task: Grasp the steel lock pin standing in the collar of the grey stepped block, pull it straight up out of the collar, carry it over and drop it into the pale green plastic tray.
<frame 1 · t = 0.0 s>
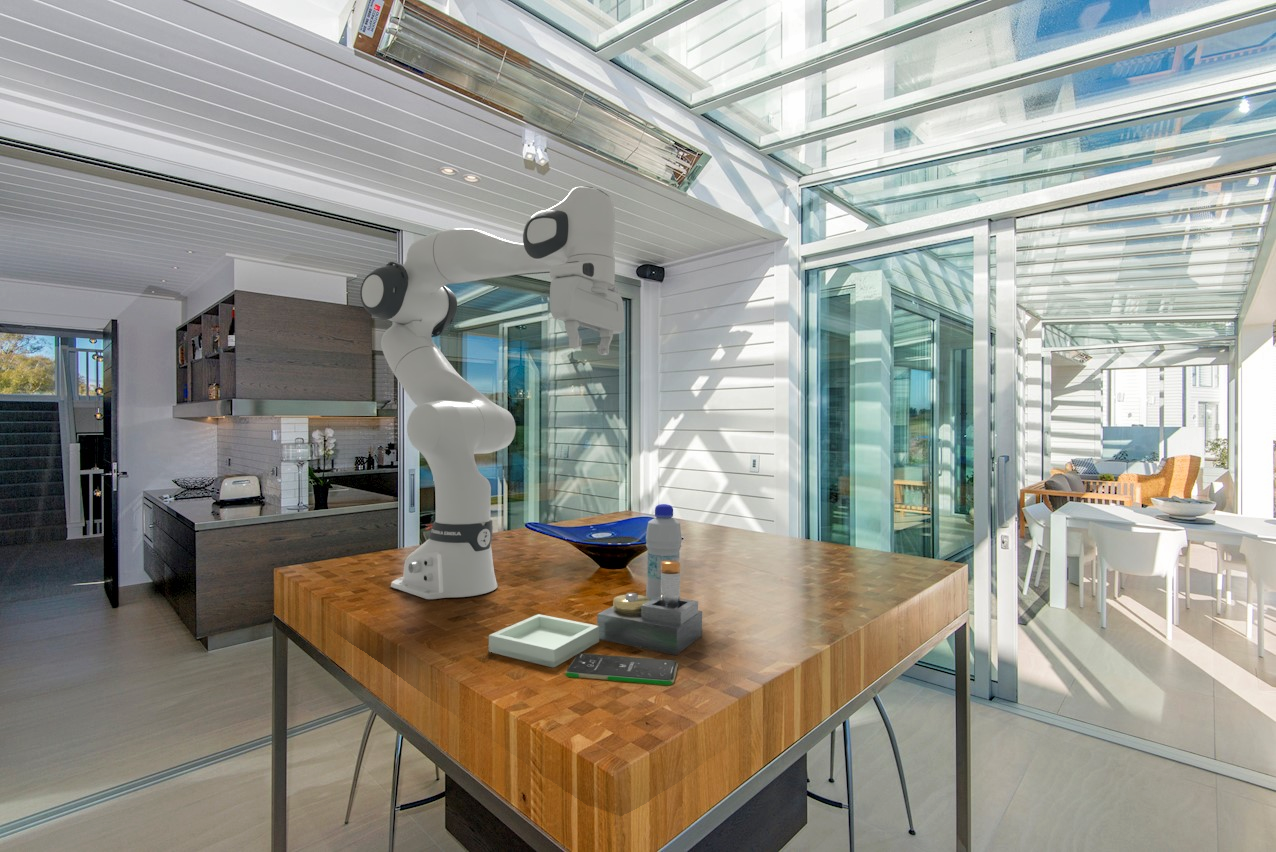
hand: (589, 351, 110), 48 cm above the table, fingers open, 8 cm apart
grey stepped block: (650, 637, 97), on the table
smartphone: (622, 674, 84), on the table
tray: (545, 646, 92), on the table
lock pin: (669, 615, 95), point 4 cm above the table, touching grey stepped block
bottle: (662, 613, 110), on the table
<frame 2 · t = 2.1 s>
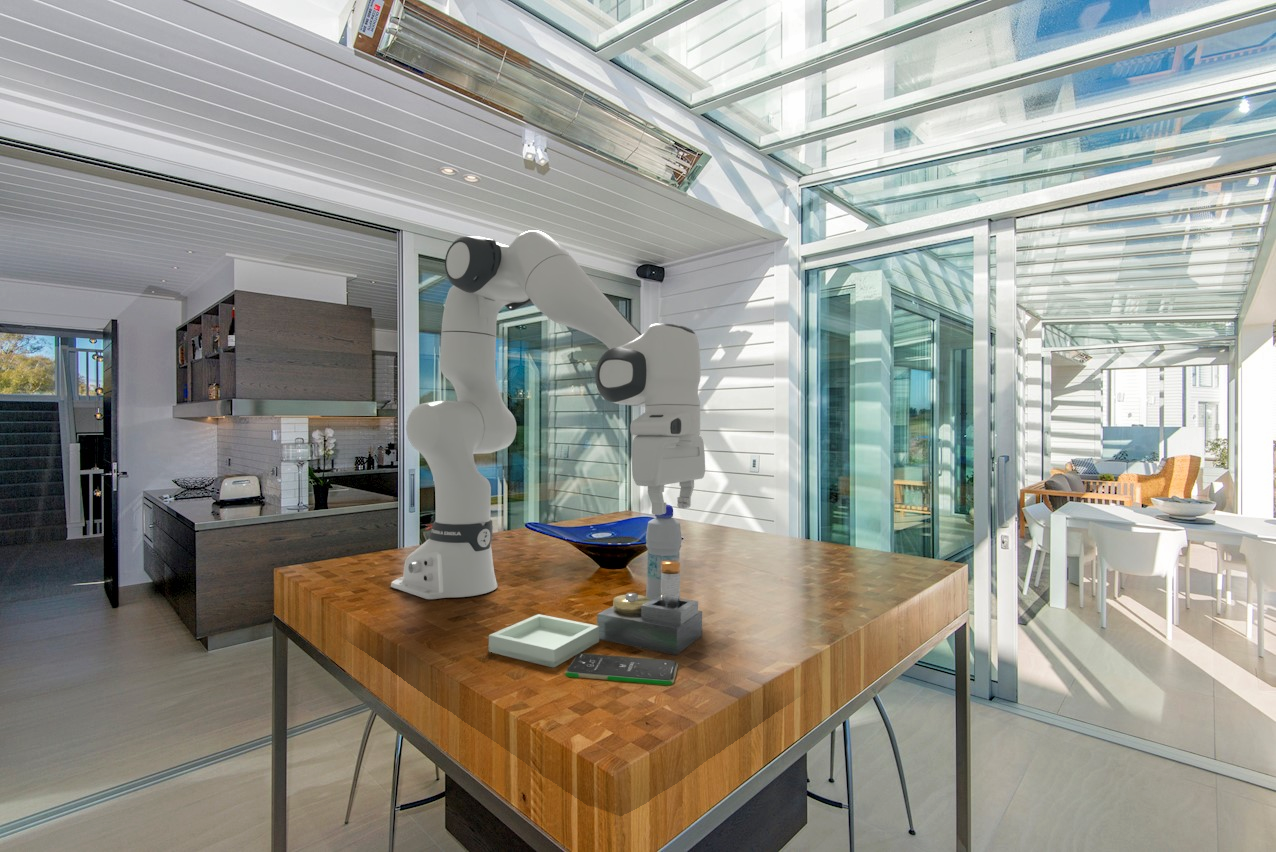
hand: (672, 511, 95), 21 cm above the table, fingers open, 8 cm apart
nothing on the table moved.
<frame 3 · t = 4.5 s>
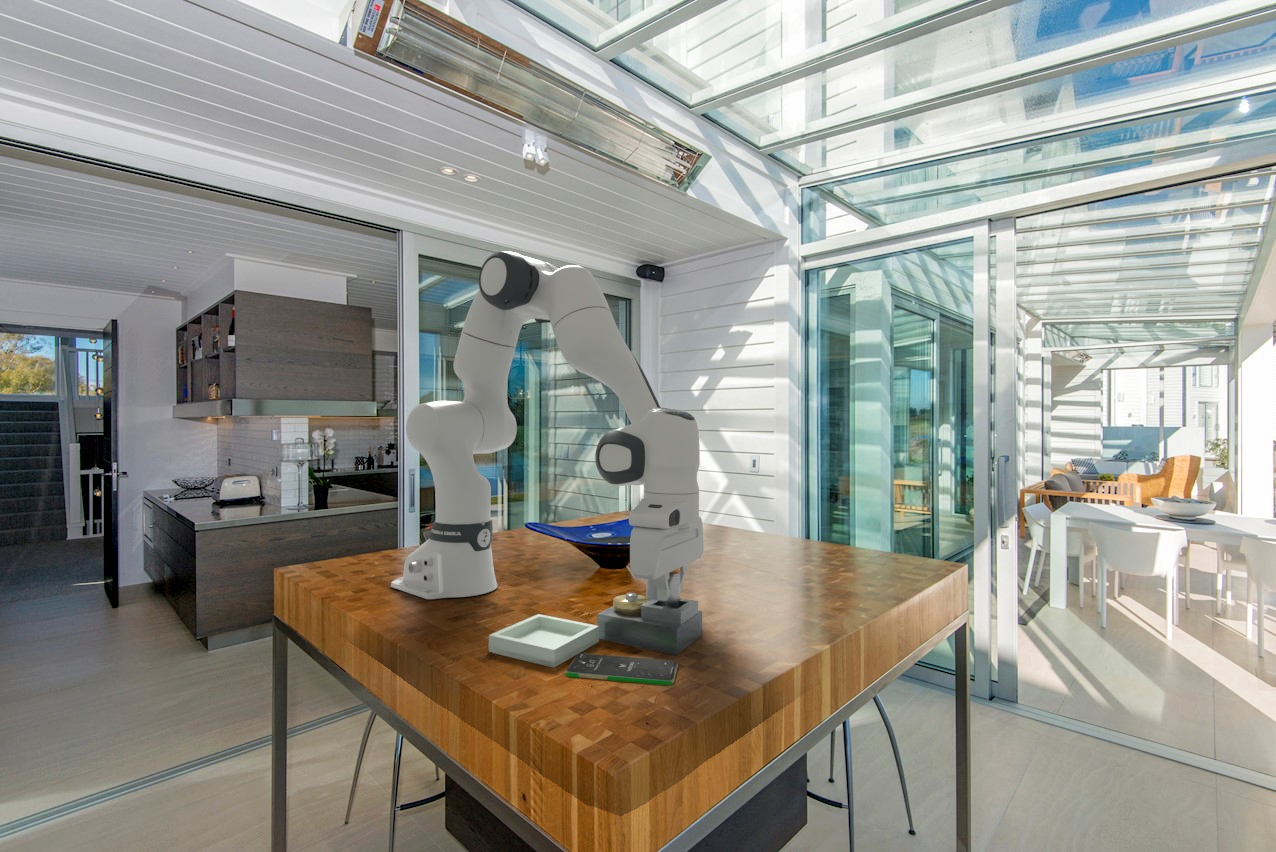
hand: (670, 596, 95), 7 cm above the table, fingers closed on lock pin, 3 cm apart
lock pin: (669, 615, 95), point 4 cm above the table, touching gripper, grey stepped block
everything else where it was.
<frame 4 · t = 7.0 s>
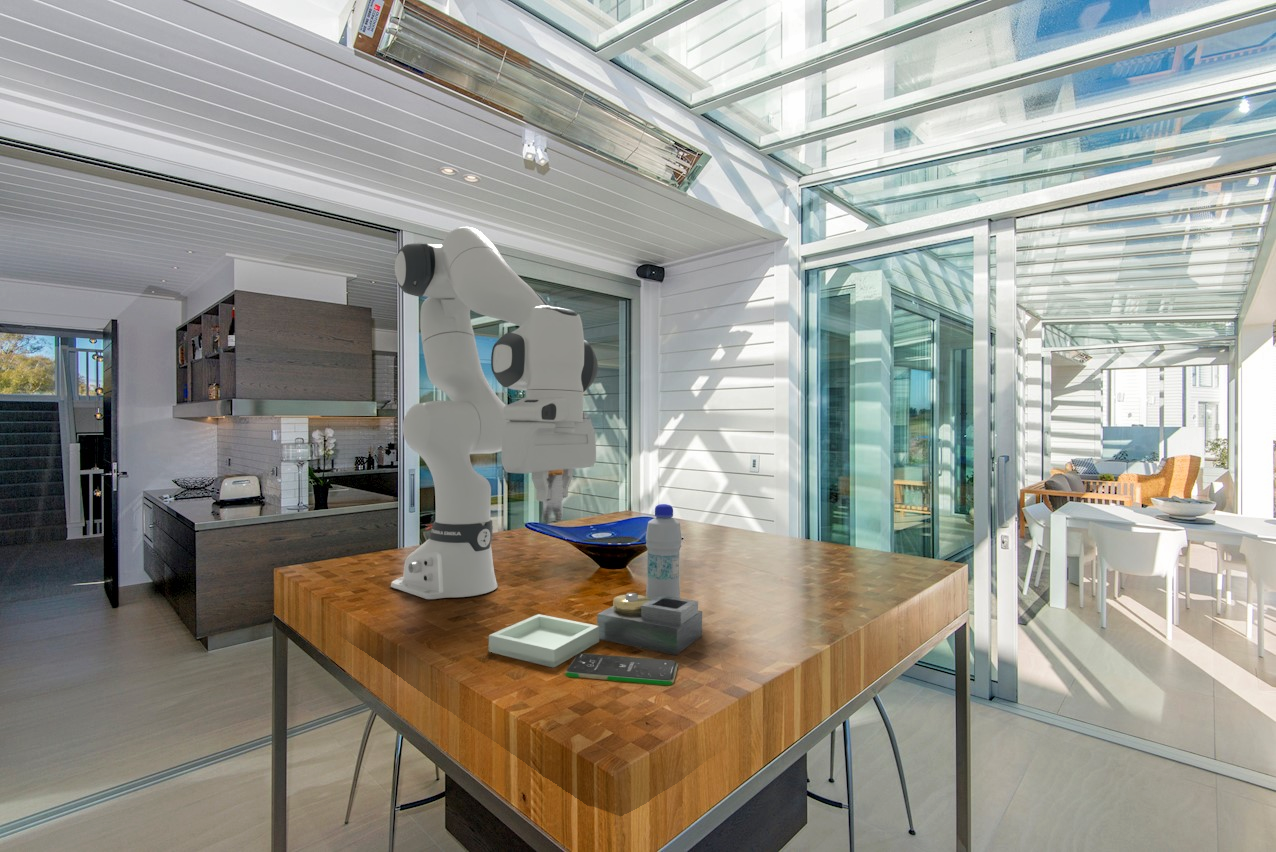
hand: (552, 499, 93), 23 cm above the table, fingers closed on lock pin, 3 cm apart
lock pin: (552, 519, 93), point 20 cm above the table, touching gripper
everything else where it was.
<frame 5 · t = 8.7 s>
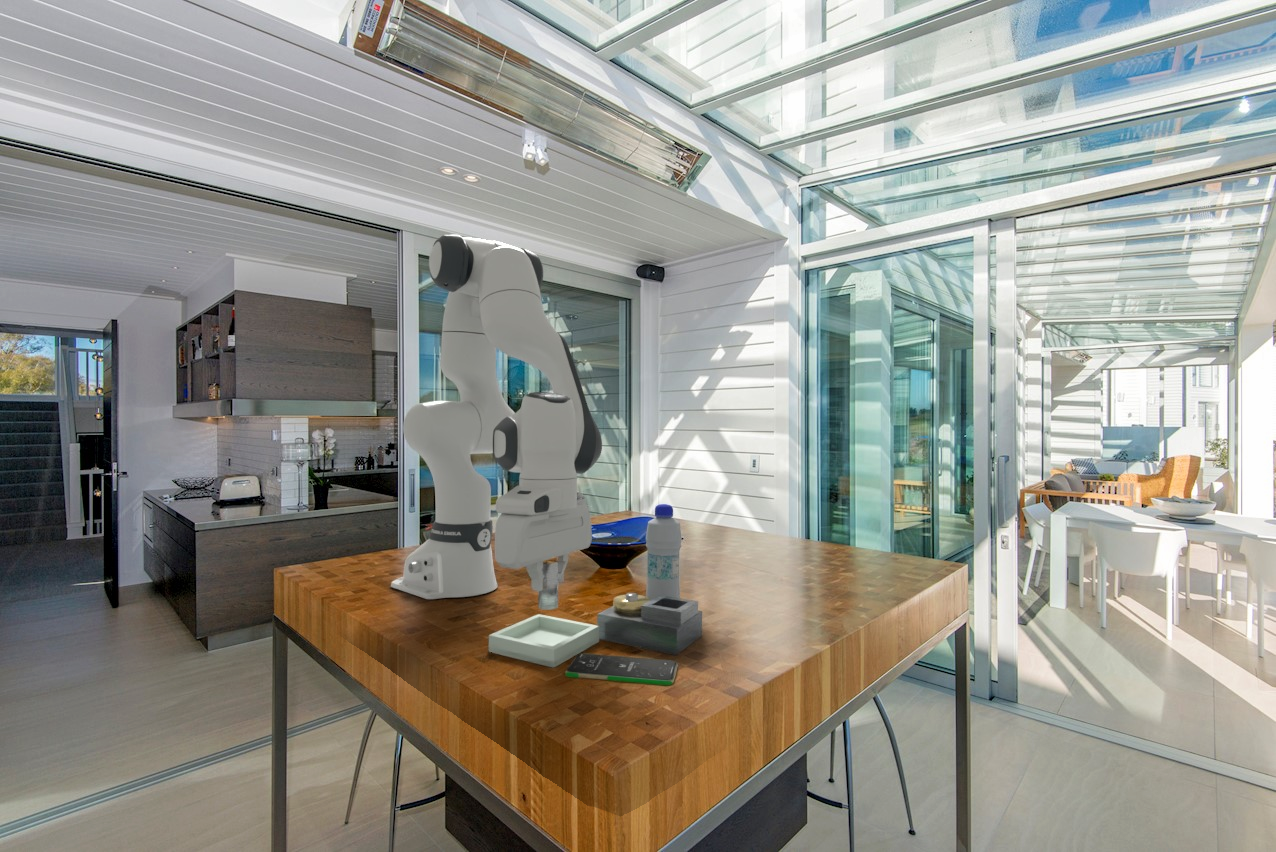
hand: (547, 586, 92), 9 cm above the table, fingers closed on lock pin, 3 cm apart
lock pin: (548, 607, 92), point 6 cm above the table, touching gripper
everything else where it was.
when the fingers open (6 cm above the table, at t = 9.8 s): lock pin drops 2 cm, resting on tray.
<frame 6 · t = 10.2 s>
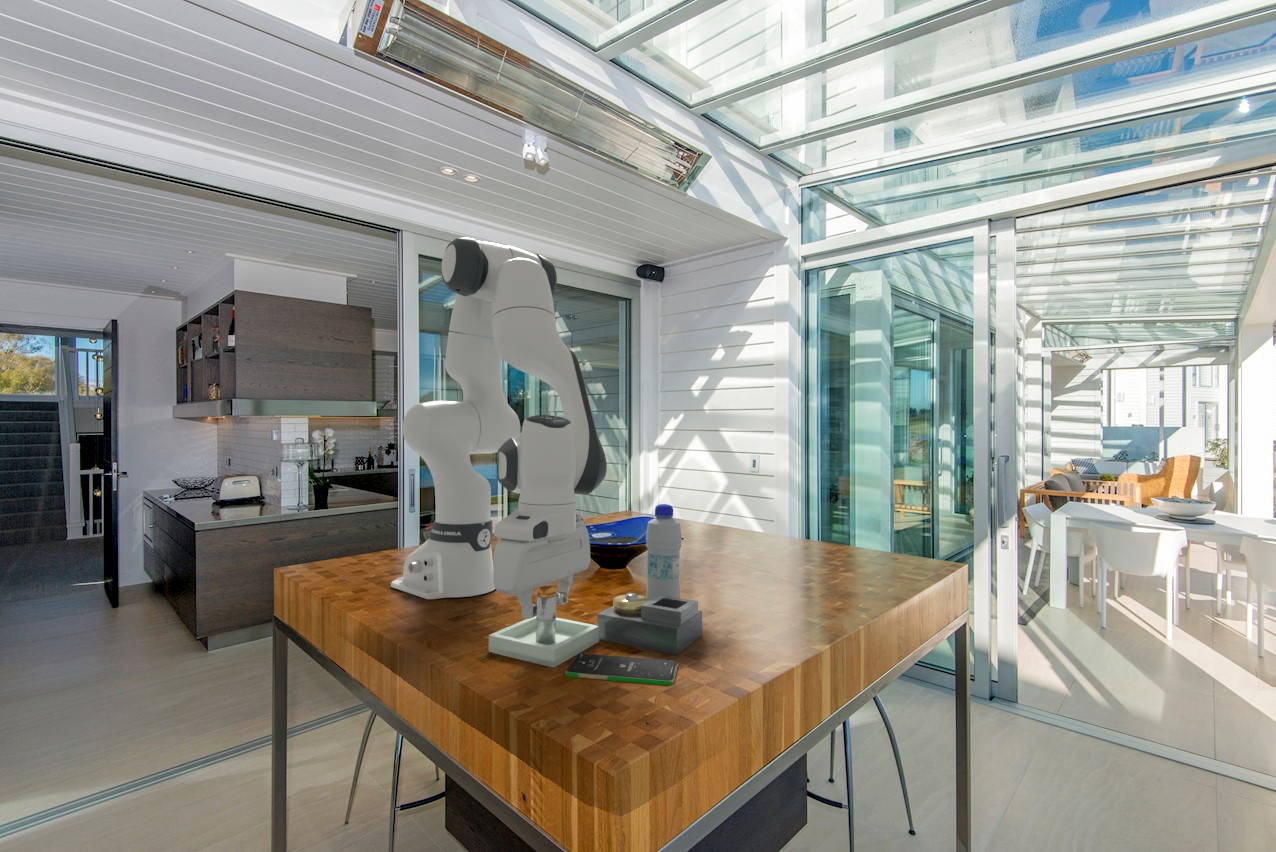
hand: (545, 610, 92), 6 cm above the table, fingers open, 7 cm apart
lock pin: (545, 641, 92), point 1 cm above the table, touching tray
everything else where it was.
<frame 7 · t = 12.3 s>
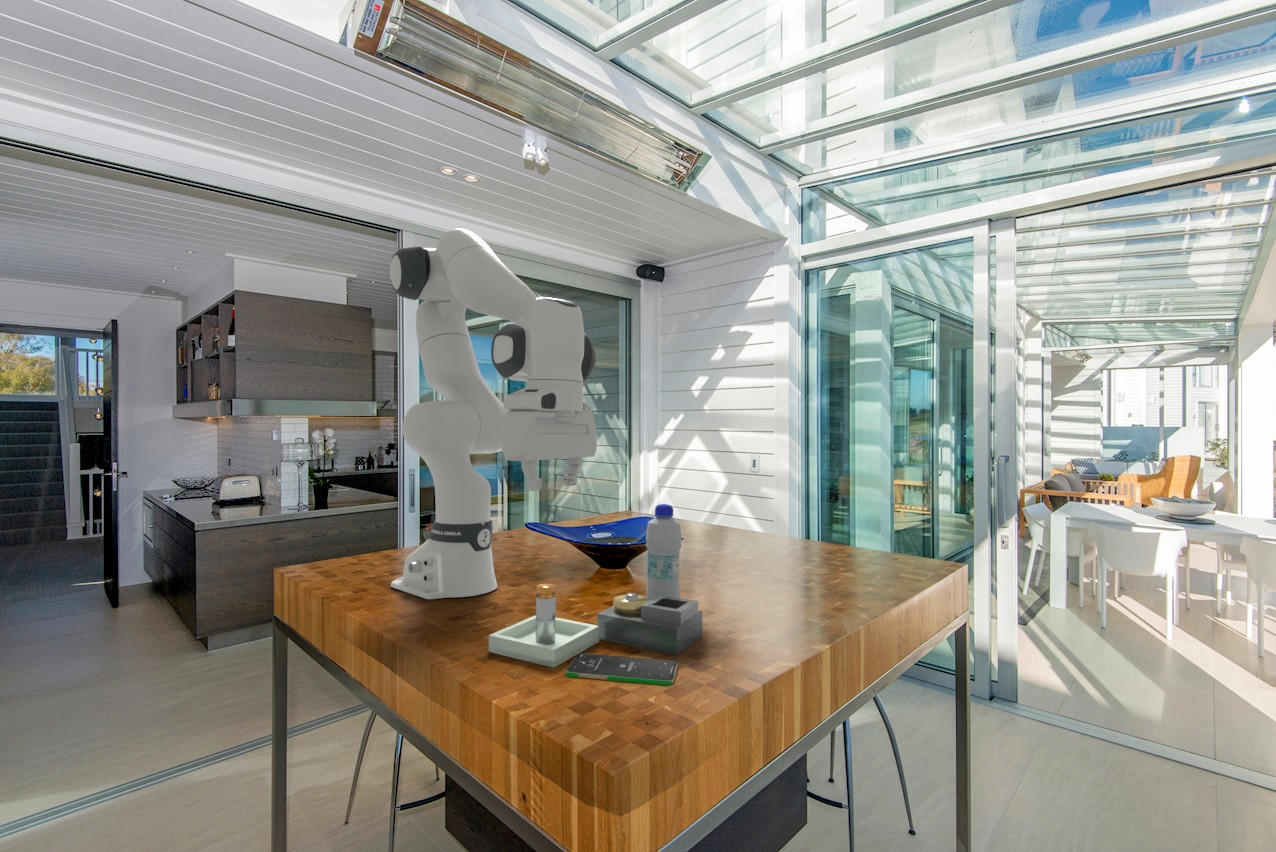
hand: (552, 488, 94), 24 cm above the table, fingers open, 8 cm apart
nothing on the table moved.
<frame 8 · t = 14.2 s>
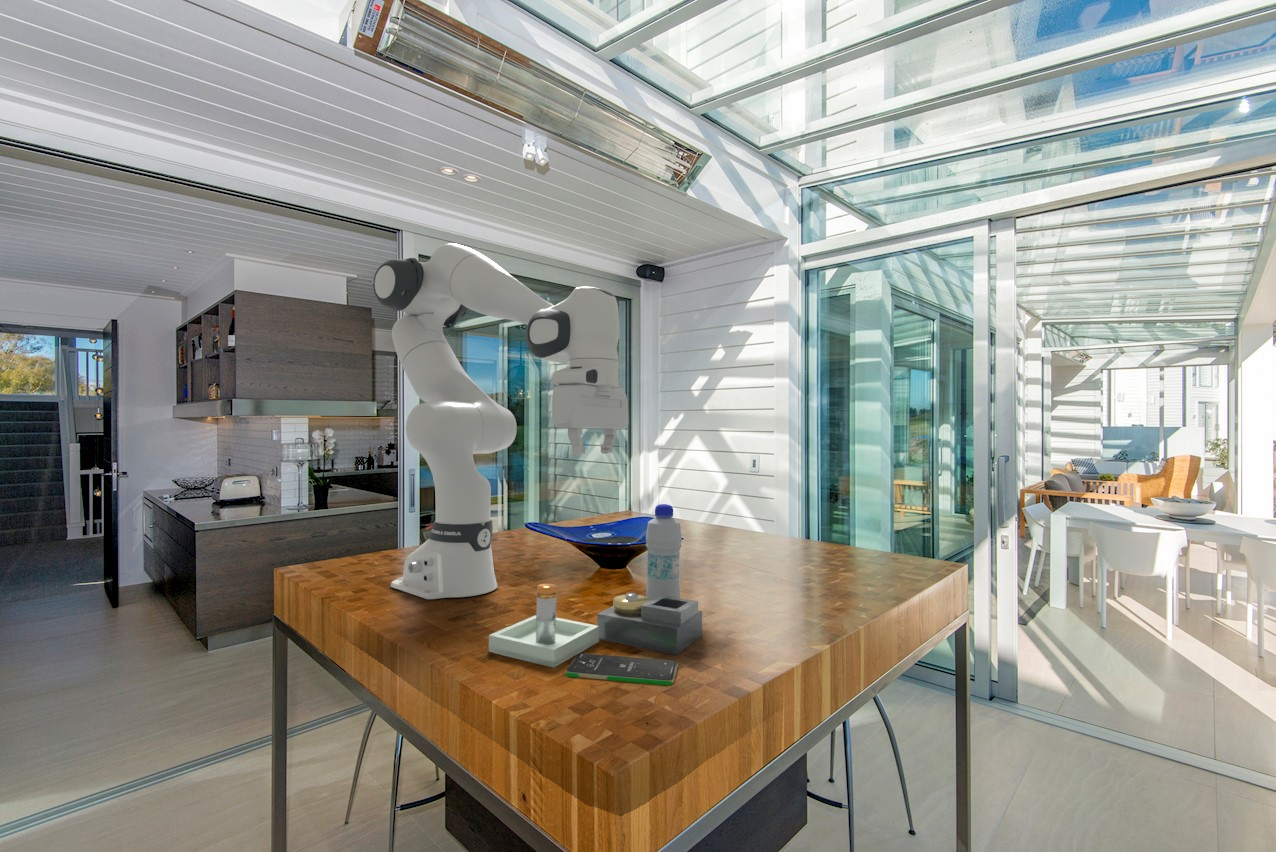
hand: (593, 454, 107), 29 cm above the table, fingers open, 8 cm apart
nothing on the table moved.
at the end: lock pin inside the target area on the tray (0.0 cm from its centre), point 0.8 cm above the tray's base; lock pin moved 19.8 cm from its start; the gripper is holding nothing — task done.
